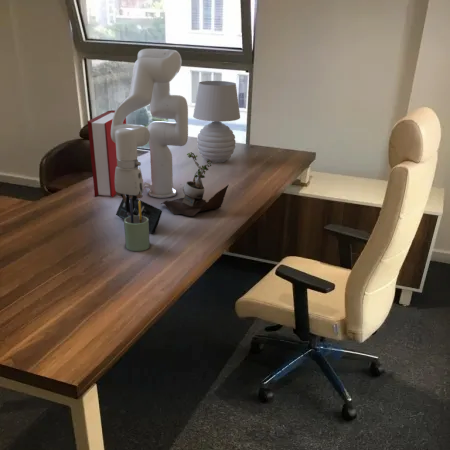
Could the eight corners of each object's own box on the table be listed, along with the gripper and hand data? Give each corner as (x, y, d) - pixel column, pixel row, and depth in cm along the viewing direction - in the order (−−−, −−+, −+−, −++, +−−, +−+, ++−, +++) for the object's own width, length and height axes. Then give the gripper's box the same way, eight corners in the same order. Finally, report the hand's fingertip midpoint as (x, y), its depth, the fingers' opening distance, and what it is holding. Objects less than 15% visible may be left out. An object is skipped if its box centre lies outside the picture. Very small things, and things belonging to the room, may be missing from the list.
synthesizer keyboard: (164, 210, 192) (139, 201, 186) (155, 235, 193) (131, 227, 188) (145, 200, 210) (122, 192, 204) (137, 223, 211) (114, 215, 206)
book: (112, 197, 228) (106, 122, 212) (94, 196, 229) (87, 121, 213) (130, 179, 252) (126, 111, 236) (114, 178, 253) (109, 110, 237)
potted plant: (190, 202, 232) (207, 150, 219) (218, 224, 223) (238, 170, 211) (157, 205, 218) (173, 149, 205) (185, 228, 209) (204, 171, 196)
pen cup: (121, 249, 181) (117, 199, 172) (132, 240, 188) (129, 192, 179) (143, 252, 179) (140, 203, 170) (153, 243, 186) (151, 195, 177)
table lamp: (238, 166, 278) (242, 87, 258) (191, 165, 278) (191, 85, 258) (238, 155, 300) (241, 80, 280) (194, 153, 300) (194, 79, 280)
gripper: (150, 163, 191) (152, 211, 200) (114, 159, 195) (117, 206, 204) (141, 168, 185) (143, 217, 194) (104, 163, 189) (108, 211, 198)
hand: (130, 211), depth 199 cm, fingers closed
